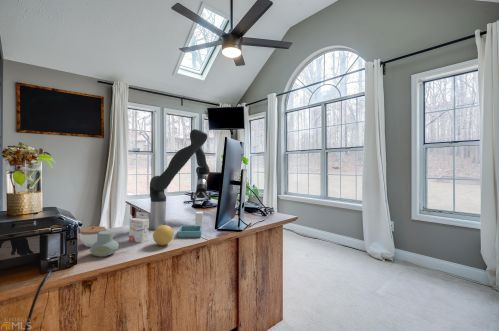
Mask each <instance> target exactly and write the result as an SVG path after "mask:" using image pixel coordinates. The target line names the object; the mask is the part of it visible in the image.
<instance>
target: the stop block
mask: <svg viewBox="0 0 499 331" xmlns="http://www.w3.org/2000/svg"><path fill="white" fill-rule="evenodd" d="M203 219H204V212H203V211H196V212H195V219H194V220H195V224H194V226H204V224H203V223H204V222H203Z"/></svg>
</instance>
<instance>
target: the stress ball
mask: <svg viewBox="0 0 499 331" xmlns="http://www.w3.org/2000/svg"><path fill="white" fill-rule="evenodd" d="M173 238H174V230H173V228H172V227H171V226H170V225H167V224H165V225H161V226H159V227H157V228H156V229H154V231H153V233H152V239H153V241H154V242H155V243H156V244H157V245H159V246H166V245H168V244H169V243H171V241H172V240H173Z"/></svg>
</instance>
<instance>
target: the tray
mask: <svg viewBox="0 0 499 331" xmlns="http://www.w3.org/2000/svg"><path fill="white" fill-rule="evenodd" d="M202 231H203V227H202V226H195V225H181V226H180V228H179V230H177V239H185V238H184V237H202Z"/></svg>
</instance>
